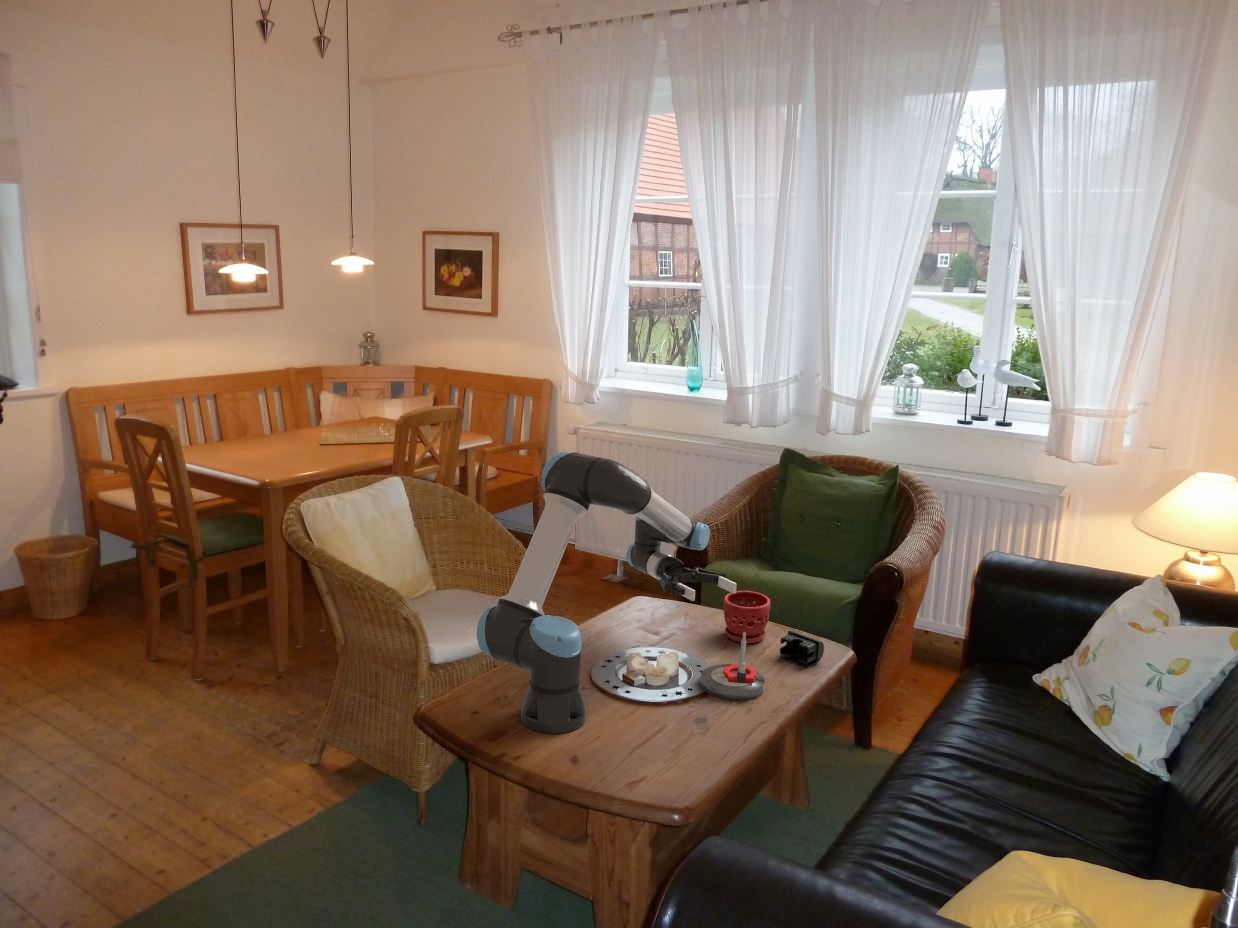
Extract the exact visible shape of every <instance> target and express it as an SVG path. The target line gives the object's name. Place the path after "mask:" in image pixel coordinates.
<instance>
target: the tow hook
mask: <svg viewBox="0 0 1238 928" xmlns="http://www.w3.org/2000/svg"><path fill="white" fill-rule="evenodd" d="M746 649H747V643H746V632H743V638H742V641H741V642H740V655H739V657H740V658H739V662H738V664H733V665H731V666H727V667H725V668H724V669H723V674H724V675H725V676H727V677H728V681H737V682H751V683H754V681H755V677H756V675H757V673H756V671H757V670H756V669H754V668H753V667H751V666H747V665H746V661H745V660H746ZM731 670H738V671H737V676H736V675H735V674H732V673H731V672H730V671H731ZM755 670H756V671H755ZM746 671H747V672H749V673H750V674H749V675H746Z"/></svg>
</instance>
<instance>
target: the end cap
mask: <svg viewBox="0 0 1238 928" xmlns="http://www.w3.org/2000/svg"><path fill="white" fill-rule="evenodd" d="M779 641H780V644H781V645H782V644H785V643H786V644H785V645H783V646H781V647H780V648H779V654H780V656H779V658H780V659H781V660H783V661H786V662H789V663H791V664H795V665H796V666H800V667H802V668H804V669H809V668H811V667H814V666H815V665H816V664H818V663H819V662H821V660H822V658H823V655H824V652H825V646H824V643H823V641H822V640H819V639H816V638H813V637H809V636H807V635H804V634H801V633H798V632H796V631H793V630H788V631H787V635H786V636H785V635H784V636H782V637H781V638H780V640H779Z"/></svg>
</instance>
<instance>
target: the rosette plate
mask: <svg viewBox="0 0 1238 928" xmlns="http://www.w3.org/2000/svg"><path fill="white" fill-rule="evenodd" d="M731 665H734V664H732V663H731V664H730V663H729V664H728V663H724V664H723V663H721V664H714V665H711V666H708V667H705V668H704V669H703V670H702V671H701V674H700V687H701V690H702V691H704V692H705V693H706V694H708V695H709V696H712V697H714V698H716V699H720V700H724V701H729V702H730V701H731V702H733V701H734V702H745V701H752V700H755V699H757V698H759V697H761V696H762V695H763V694H764V692H765V683H766V682H765V681H766V680H765V677H764V676H763V674H762V673H761V672H759V671H758V670H756V669H754V670H755V671H756V673H757V675H756V677H755V681H754V683H751V682H737V681H728V677H727V676H725V675H724V674H723V669H724V668H725V667H727V666H731ZM737 671H738V670H731V671H730V672H731V673H732V674H735V675H736V676H737ZM749 674H750V673H749V672H747V671H746V675H749Z"/></svg>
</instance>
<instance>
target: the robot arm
mask: <svg viewBox="0 0 1238 928" xmlns="http://www.w3.org/2000/svg"><path fill="white" fill-rule="evenodd" d="M541 479H542V480H541V487H542V489H543V491H544V493H543V494H542V495H543V499H544V501H545V506H544V508H543V511H542V514H541V516H540V517H539V520H538V523H537V524H536V525H537V526H536V528H535V530H534V532H533V535H532V536H531V540H530V542H529V544H528V547H527V549H526V552H524V553H525V554H524V556H523V557H522V561H521V563H520V566H519V568H518V570H517V572H516V575H515V578H514V579H513V582H512V584H511V587H510V589H509V592H508V593H507V594H505V595H503V596H499V599H498V602H497V604H496V605H493V606H489V607H488V608H487V609H486V610H484V611H483V612H482V614H481V615H480V617H479V619H478V622H477V626H476V640H477V644H478V647H479V649H480V650H481V652H482V653H484V654H485V655H486V656H489V657H491V658H492V659H494V660H497V661H499V662H500V661H501V662H503V663H506V664H510V665H512V666H514V667H516V668H517V667H518V668H520V669H524V670H526V671H528V672H529V673H528V674H529V676H528V677H529V682H528V684H529V686H528V689H527V691H526V694H525V697H524V700H523V703H522V705H521V710H520V721H521V722H522V724H523V725H524V726H525V727H527V729H531V730H533V731H536V732H538V733H545V734H562V733H563V734H564V733H568V732H573V731H575V730H577V729H579V728H581V727H582V726H583V725H584V724H585V723H586V720H587V707H586V704H585V701H584V697H583V694H582V691H581V690H582V689H581V686H580V682H581V661H582V660H581V657H582V650H583V649H582V648H583V645H582V633H581V630H580V627H579V626H578V625H577V624H576V623H575V622H574V621H572V620H571V619H569V618H566V617H563V616H558V615H555V616H553V615H552V614H551V615H550V614H549V615H545V613H544V610H543V605H544V603H545V600H546V597H547V594H548V592H549V590H550V587H551V586H552V583H553V580H554V578H555V575H556V573H557V570H558V568H559V566H560V563H561V560H562V558H563V556H564V553H565V551H566V549H567V546H568V544H569V541H570V539H571V536H572V534H573V531H574V528H575V526H576V524H577V521H578V519H579V518H580V517H582V516H585V515H587V513H588V511H589V509H590V506H591V505H595V506H600V507H605V508H611V509H616V510H619V511H621V512H623V513H625V514H627V515H631V516H632V515H634V516H635V525H634V526H635V527H634V530H635V531H634V541H633V543H631V544H630V545H629V546H628V549H627V551H626V553H625V555H626V560H627V563H628V564H629V565H630V566H631V567H632V568H634V569H636V570H637V571H640V572H642V573H644V574H646V575H649V576H651V577H653V579H656V582H657V583H658V584H660V586H661V588H662V589H663V592H664V593H665V594H669V593H670V592H671V596H673V597H674V596H677V594H678V595H679V596H682V597H684V598H686V600H689V601H691V602H694V601H695V600H696V590H695V589H693V588H691V587H689V586H688V585H685V584H686V583H689V584H691V583H692V584H697V583H705V584H710V585H711V584H712V585H717V587H718V588H721V589H724V590H725V591H727V592H729V593H733V594H735V593H736V591H737V585H738V584H737V583H736V582H734V581H732V580H730V579H728V578H727V575H728V574H727V573H725V572H719V571H715V570H711V569H706V568H702V567H699V566H694V569H693V568H690V567H686V566H685V563H684V562H683V561H682V560H681V559H679V558H676V557H675V556H673V555H670V554H669V553H666V552H664V551H662V550H661V546H662V543H665V544H669V545H674V546H677V547H678V546H679V547H682V548H686V549H690V550H695V551H703V550H704V549H705V548H706V547H707V546H708V544H709V541H710V537H711V535H710V534H711V532H710V527H709V526H708V525H707V524H706V523H702V522H700V521H695V520H693V519H691V518H689V517H688V516H687V515H686V514H684V513H683V512H682V511H680V510H678V509H677V508H676V507H675V506H673V505H672V504H671V503H669V502H668V501H667V500H665V499H664V498H663V497H662V496H660V495H659V494H658V493H656V492H655V491H654V490H653V489H652V486H651V484H650V483H649V482H648V481H647V480H646V479H645V478H643V477H642V476H640V475H639V474H638V473H636V471H634V470H632V469H631V468H629V467H628V466H626V465H624V464H622V463H620V462H618V461H616V460H614V459H609V458H604V457H600V456H595V455H594V456H593V455H590V454H583V453H580V452H578V451H577V452H576V451H560V452H558V453H556V454H554V455H552V456H551V457H550V458H549V460H548V461H547V462H546V464H545V465H544V467H543V470H542V473H541ZM693 577H694V579H693ZM683 583H685V584H683Z"/></svg>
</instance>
